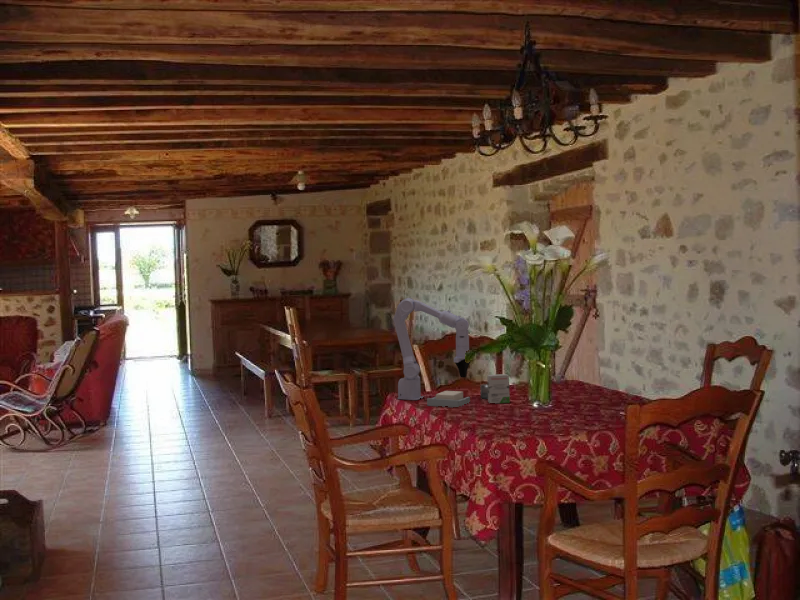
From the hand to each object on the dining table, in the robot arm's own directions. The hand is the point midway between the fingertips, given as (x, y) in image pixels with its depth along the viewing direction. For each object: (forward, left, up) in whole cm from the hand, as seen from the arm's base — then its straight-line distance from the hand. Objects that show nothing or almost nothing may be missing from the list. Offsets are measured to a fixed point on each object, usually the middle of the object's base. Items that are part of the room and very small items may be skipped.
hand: (463, 377), depth 382 cm
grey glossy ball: (+10, +3, -9) cm, 14 cm away
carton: (0, -15, -10) cm, 18 cm away
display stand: (0, -15, -9) cm, 18 cm away
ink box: (+18, -4, -10) cm, 21 cm away
